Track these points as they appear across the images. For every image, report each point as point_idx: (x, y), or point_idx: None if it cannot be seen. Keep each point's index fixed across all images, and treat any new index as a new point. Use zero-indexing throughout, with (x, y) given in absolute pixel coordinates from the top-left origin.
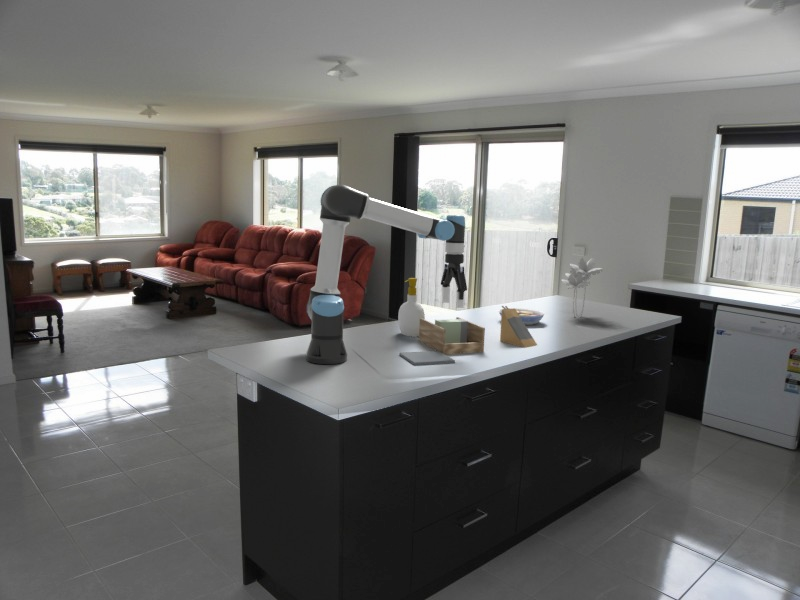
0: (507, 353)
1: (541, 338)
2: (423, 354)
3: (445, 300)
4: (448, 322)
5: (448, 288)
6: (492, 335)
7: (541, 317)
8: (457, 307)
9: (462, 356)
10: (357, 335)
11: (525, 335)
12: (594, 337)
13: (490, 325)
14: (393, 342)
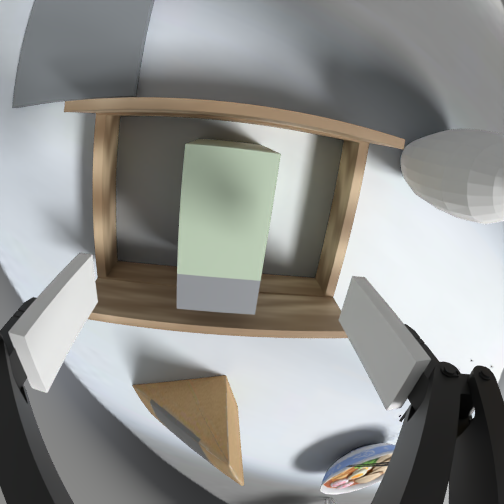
0: (93, 323)
1: (242, 451)
2: (101, 26)
3: (353, 301)
4: (181, 194)
5: (388, 393)
6: (318, 394)
7: (324, 486)
8: (78, 255)
9: (72, 167)
10: (468, 20)
11: (164, 422)
12: (221, 491)
13: (399, 416)
14: (362, 35)
